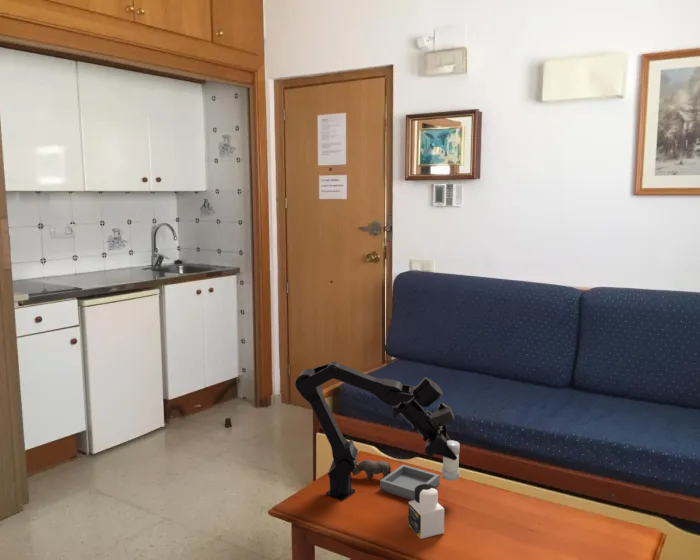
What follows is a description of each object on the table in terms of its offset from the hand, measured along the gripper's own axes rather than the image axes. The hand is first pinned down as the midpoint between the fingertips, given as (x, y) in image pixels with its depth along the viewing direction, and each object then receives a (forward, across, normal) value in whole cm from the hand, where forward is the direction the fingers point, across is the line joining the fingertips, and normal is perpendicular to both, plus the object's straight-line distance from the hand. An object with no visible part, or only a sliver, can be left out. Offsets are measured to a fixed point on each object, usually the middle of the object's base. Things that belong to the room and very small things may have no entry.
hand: (455, 455), depth 184 cm
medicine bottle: (+4, -17, +16) cm, 23 cm away
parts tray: (0, +6, +19) cm, 20 cm away
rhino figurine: (-8, +11, +28) cm, 31 cm away
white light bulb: (+4, 0, +6) cm, 7 cm away
